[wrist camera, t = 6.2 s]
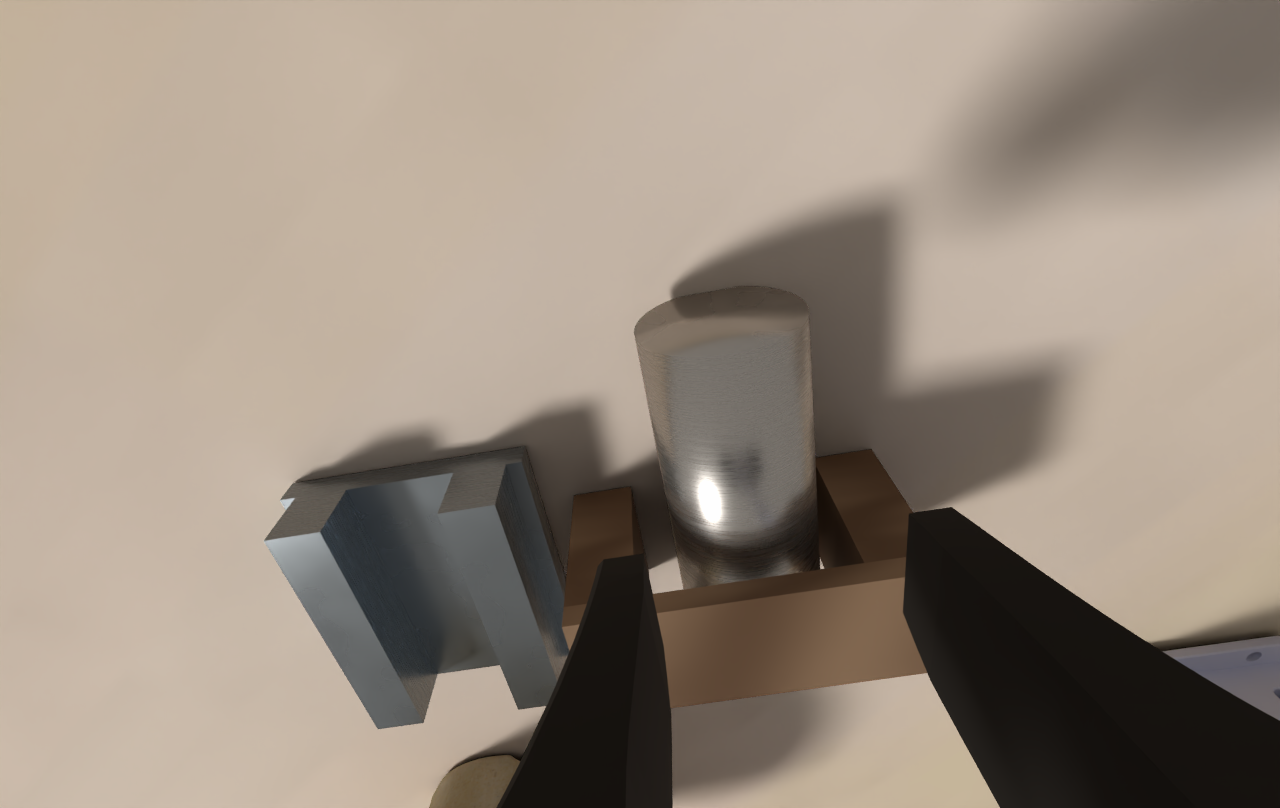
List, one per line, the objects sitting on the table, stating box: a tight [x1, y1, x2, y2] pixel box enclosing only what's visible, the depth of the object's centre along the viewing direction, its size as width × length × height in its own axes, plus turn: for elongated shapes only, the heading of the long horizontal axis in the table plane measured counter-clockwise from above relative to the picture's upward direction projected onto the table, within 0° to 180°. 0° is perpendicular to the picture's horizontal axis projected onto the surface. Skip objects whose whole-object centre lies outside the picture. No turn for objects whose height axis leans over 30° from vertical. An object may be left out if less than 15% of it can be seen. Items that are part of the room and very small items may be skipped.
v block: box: [264, 446, 569, 729], centre depth 19 cm, size 7×8×3 cm
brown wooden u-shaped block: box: [562, 449, 927, 708], centre depth 17 cm, size 9×4×5 cm, turn 99°
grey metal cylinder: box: [634, 286, 820, 589], centre depth 17 cm, size 10×4×4 cm, turn 10°
